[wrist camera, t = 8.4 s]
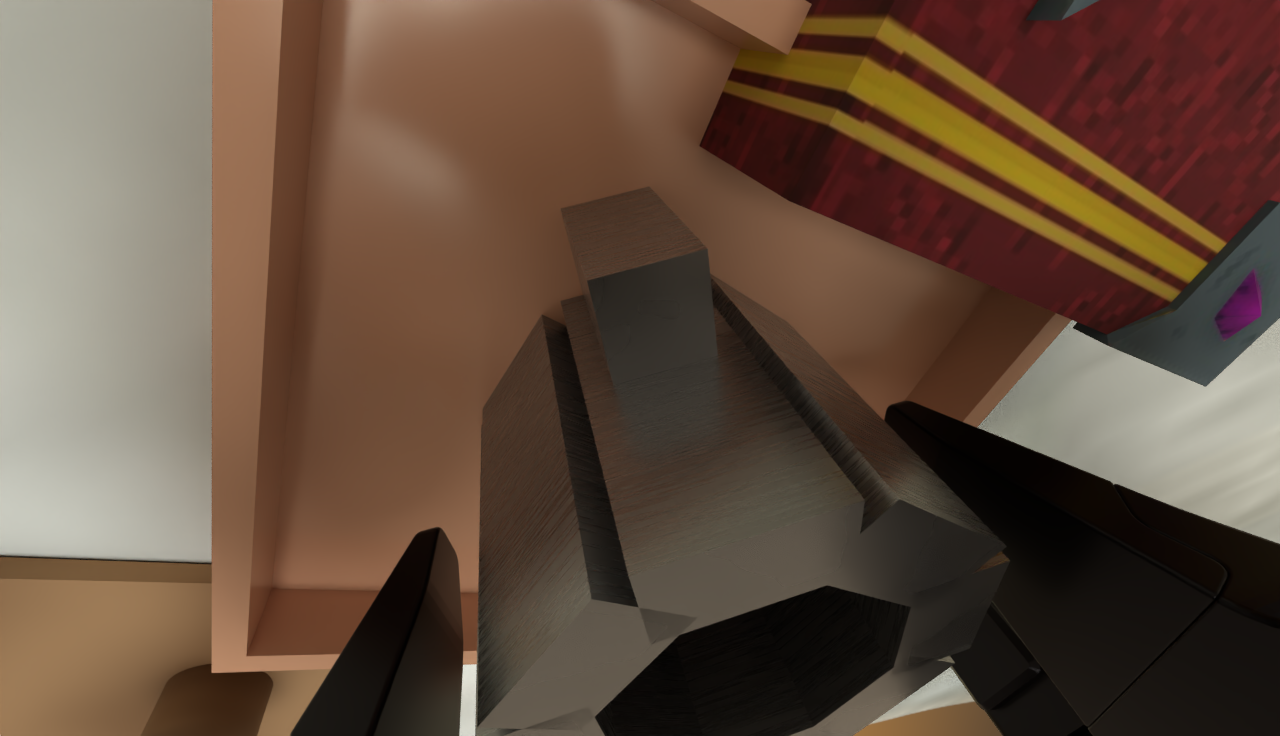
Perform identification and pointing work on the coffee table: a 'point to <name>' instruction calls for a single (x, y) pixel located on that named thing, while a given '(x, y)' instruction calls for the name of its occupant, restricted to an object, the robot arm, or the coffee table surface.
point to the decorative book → (1042, 154)
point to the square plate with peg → (128, 656)
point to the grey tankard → (703, 516)
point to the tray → (487, 269)
